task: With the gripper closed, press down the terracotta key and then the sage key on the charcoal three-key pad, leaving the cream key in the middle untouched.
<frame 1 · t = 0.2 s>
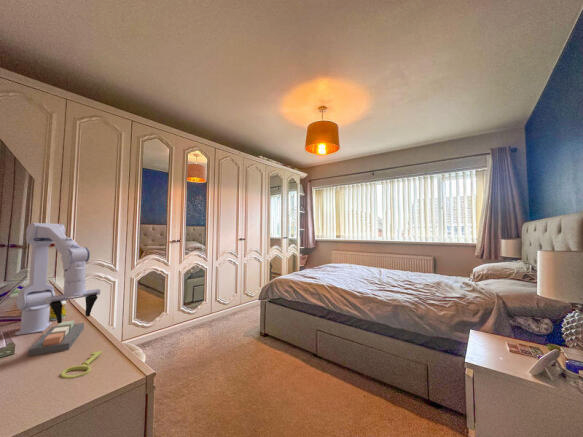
hand: (74, 319, 84), 10 cm above the dresser, tool pointing down, fingers open, 7 cm apart
terracotta key: (53, 339, 83), point 3 cm above the dresser, slide at 0.0 cm
sage key: (65, 326, 94), point 3 cm above the dresser, slide at 0.0 cm
keypad: (59, 340, 88), on the dresser
key: (84, 369, 72), on the dresser
cream key: (60, 332, 88), point 3 cm above the dresser, slide at 0.0 cm
supplement bottle: (57, 319, 108), on the dresser
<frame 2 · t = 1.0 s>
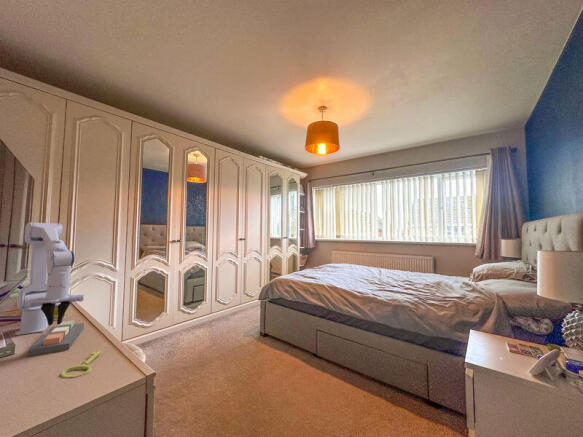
hand: (55, 324, 83), 8 cm above the dresser, tool pointing down, fingers closed
nothing on the dresser moved.
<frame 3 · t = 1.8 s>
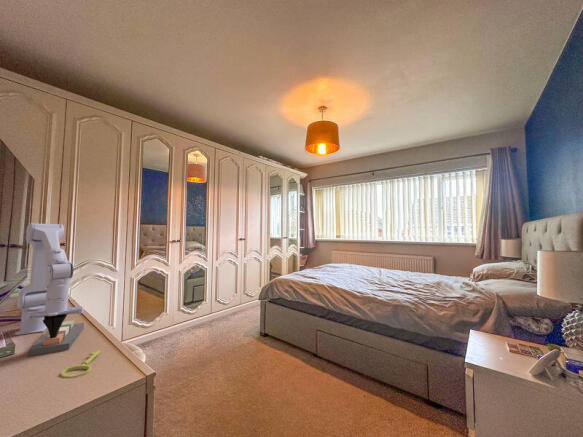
hand: (53, 336, 83), 4 cm above the dresser, tool pointing down, fingers closed, pressing on terracotta key
terracotta key: (53, 340, 83), point 3 cm above the dresser, slide at 0.2 cm, touching gripper
everything else where it was.
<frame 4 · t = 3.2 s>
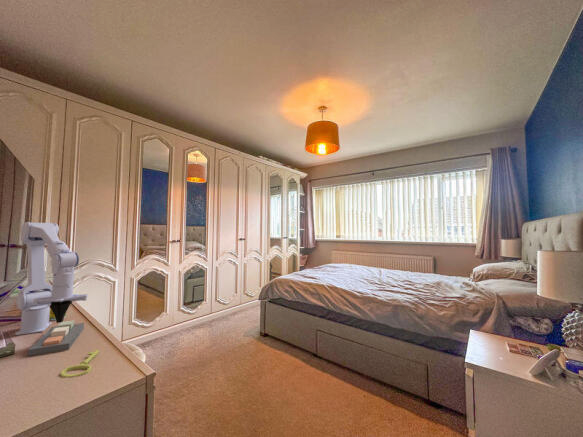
hand: (59, 321, 88), 7 cm above the dresser, tool pointing down, fingers closed
terracotta key: (53, 342, 83), point 2 cm above the dresser, slide at 0.9 cm
everything else where it was.
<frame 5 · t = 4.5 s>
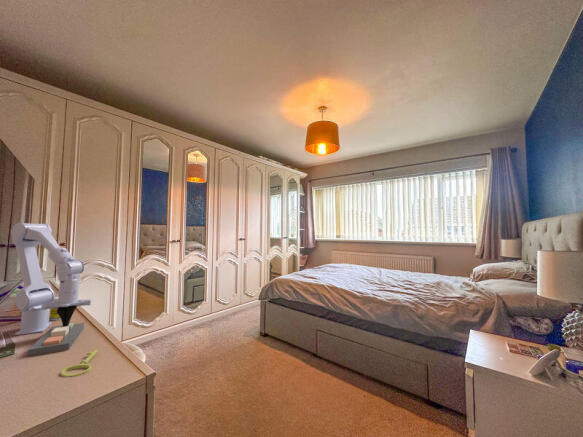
hand: (65, 325, 94), 3 cm above the dresser, tool pointing down, fingers closed, pressing on sage key
sage key: (65, 328, 94), point 2 cm above the dresser, slide at 0.9 cm, touching gripper
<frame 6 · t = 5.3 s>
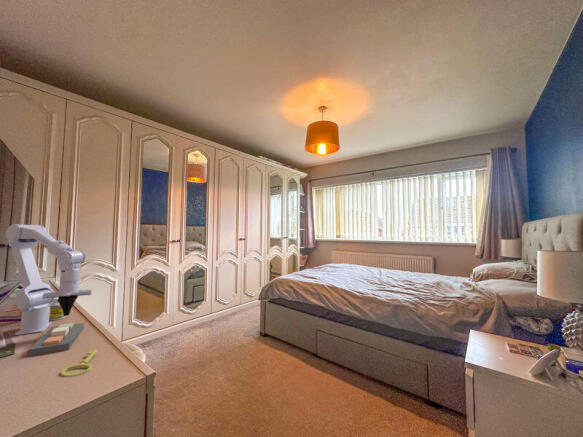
hand: (66, 314, 94), 7 cm above the dresser, tool pointing down, fingers closed
sage key: (65, 328, 94), point 2 cm above the dresser, slide at 0.9 cm
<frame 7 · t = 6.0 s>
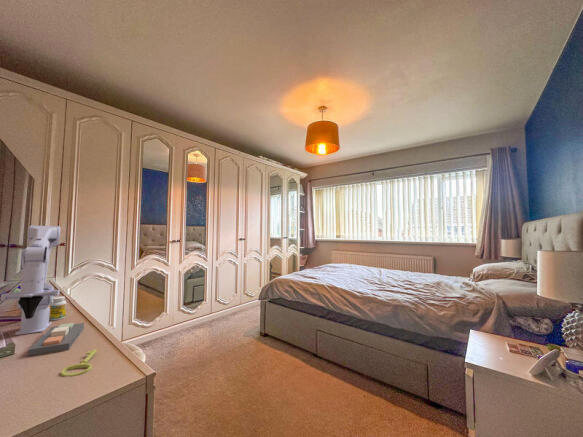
hand: (29, 317, 85), 9 cm above the dresser, tool pointing down, fingers closed
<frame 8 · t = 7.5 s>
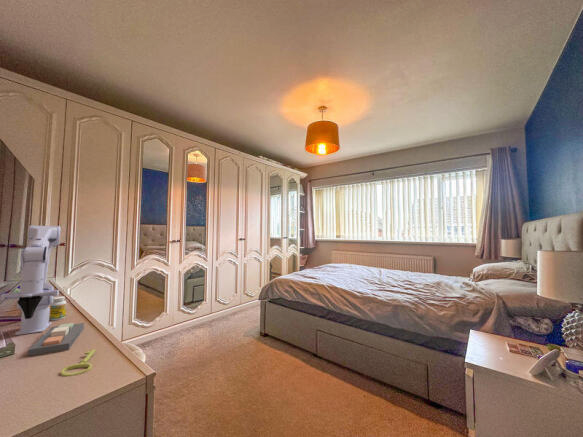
hand: (29, 317, 85), 9 cm above the dresser, tool pointing down, fingers closed
at the end: terracotta key slide at 0.9 cm; sage key slide at 0.9 cm; cream key slide at 0.0 cm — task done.
